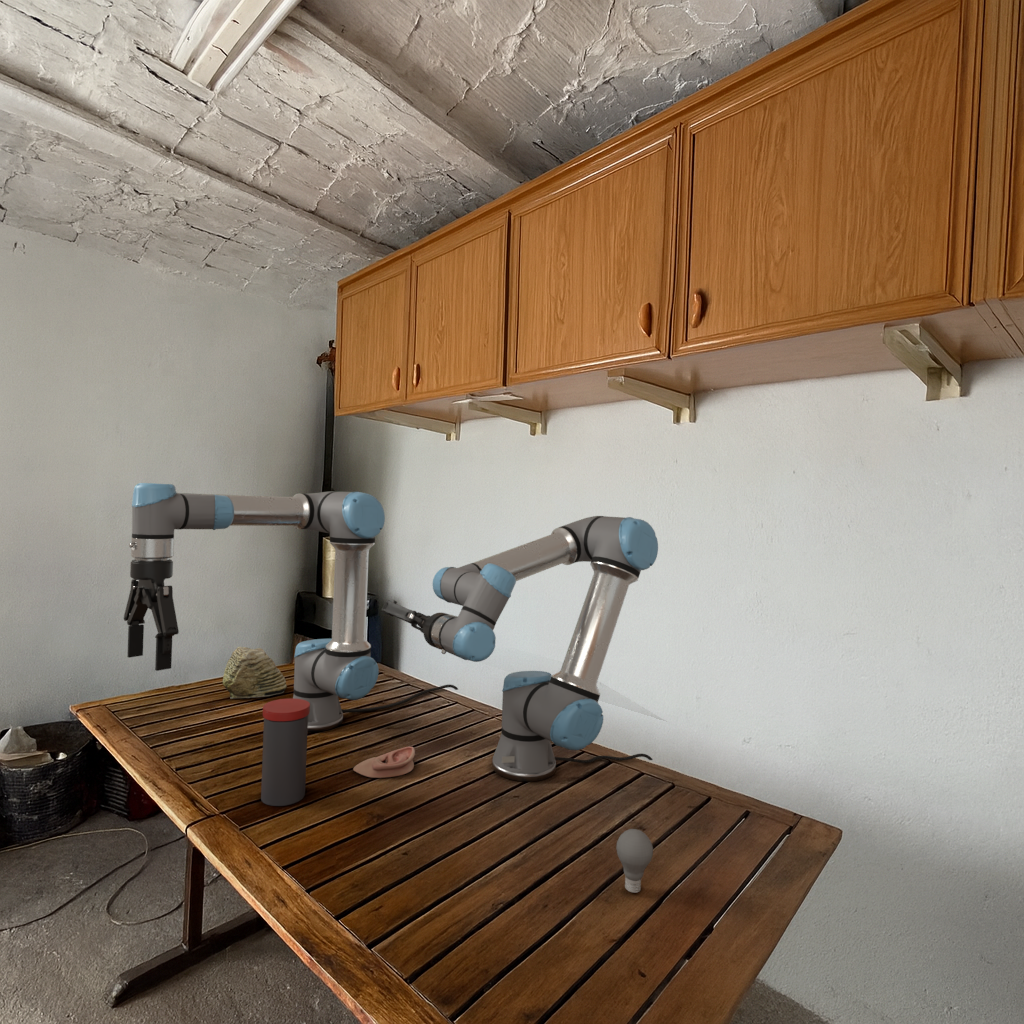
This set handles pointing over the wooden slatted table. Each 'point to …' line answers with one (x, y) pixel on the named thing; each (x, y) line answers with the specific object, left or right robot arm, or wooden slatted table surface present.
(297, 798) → the jar
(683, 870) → the wooden slatted table surface
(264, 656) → the fossil
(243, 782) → the wooden slatted table surface
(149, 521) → the left robot arm
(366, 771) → the anatomical model
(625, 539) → the right robot arm
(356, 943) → the wooden slatted table surface
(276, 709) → the lid
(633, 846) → the light bulb
